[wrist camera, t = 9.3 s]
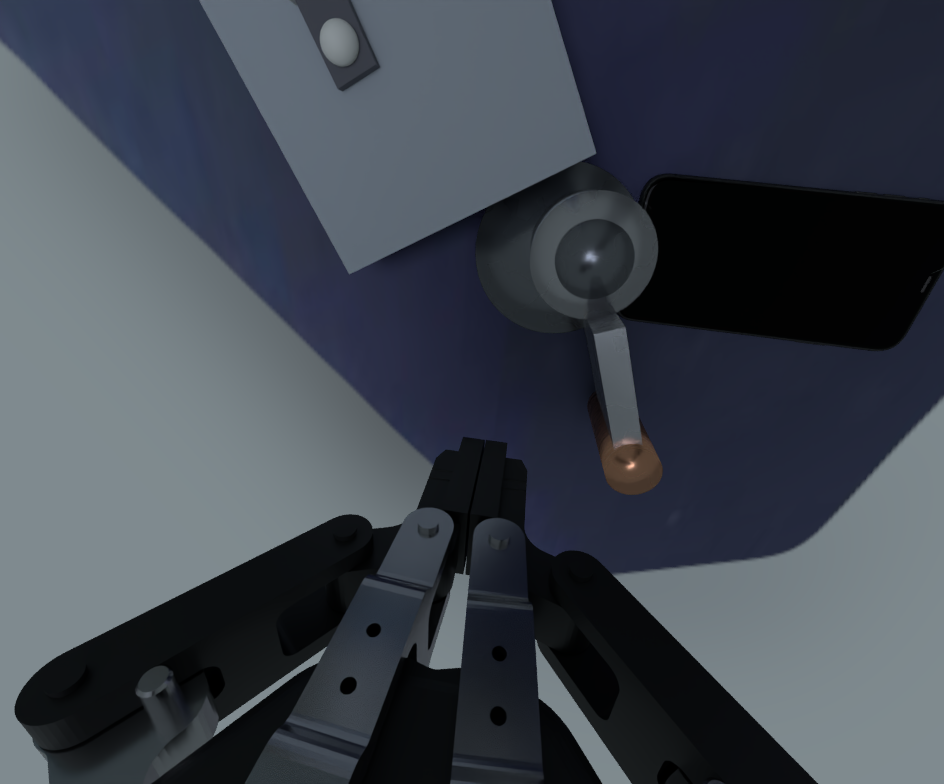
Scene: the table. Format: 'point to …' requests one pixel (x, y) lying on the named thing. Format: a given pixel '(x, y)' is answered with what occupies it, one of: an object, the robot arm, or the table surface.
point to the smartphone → (789, 261)
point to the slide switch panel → (407, 107)
